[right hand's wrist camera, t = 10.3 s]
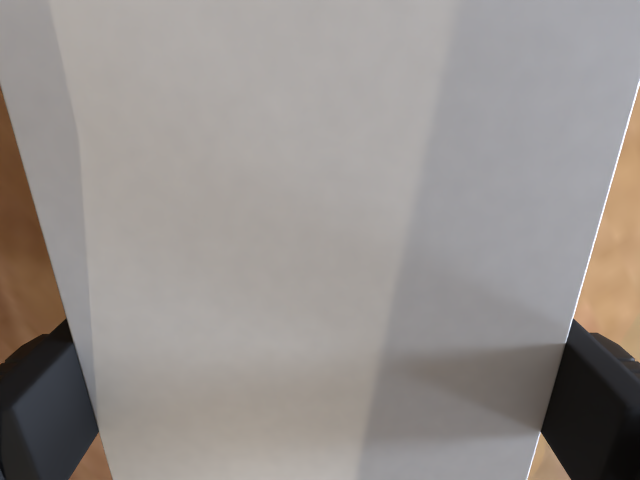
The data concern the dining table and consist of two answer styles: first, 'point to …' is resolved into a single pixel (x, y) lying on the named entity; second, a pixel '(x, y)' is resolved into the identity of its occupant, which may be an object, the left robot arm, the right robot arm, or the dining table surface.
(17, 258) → the dining table surface
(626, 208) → the dining table surface
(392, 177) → the cabinet
